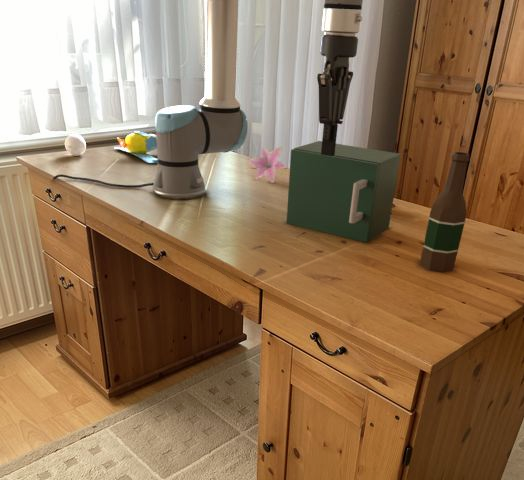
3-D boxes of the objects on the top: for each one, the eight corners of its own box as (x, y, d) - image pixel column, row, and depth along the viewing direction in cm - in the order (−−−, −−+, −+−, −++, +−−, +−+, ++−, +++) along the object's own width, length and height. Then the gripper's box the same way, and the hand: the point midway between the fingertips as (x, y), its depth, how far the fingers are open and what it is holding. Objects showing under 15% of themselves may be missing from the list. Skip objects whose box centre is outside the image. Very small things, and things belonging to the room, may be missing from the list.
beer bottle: (413, 259, 123) (435, 148, 110) (446, 259, 124) (472, 149, 111) (425, 272, 116) (449, 157, 104) (460, 273, 117) (488, 158, 105)
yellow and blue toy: (103, 125, 202) (139, 123, 210) (105, 150, 206) (141, 147, 215) (137, 138, 183) (176, 136, 192) (139, 165, 188) (177, 161, 196)
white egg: (63, 154, 198) (59, 133, 194) (83, 152, 202) (80, 131, 198) (72, 160, 191) (69, 138, 187) (93, 158, 195) (90, 136, 191)
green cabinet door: (357, 248, 127) (368, 168, 117) (275, 228, 137) (279, 153, 128) (368, 241, 131) (379, 163, 122) (288, 222, 142) (293, 149, 132)
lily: (245, 177, 184) (242, 155, 175) (271, 160, 187) (269, 137, 178) (267, 196, 179) (265, 174, 170) (294, 178, 182) (293, 155, 173)
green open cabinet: (368, 241, 132) (379, 162, 122) (288, 222, 142) (293, 148, 132) (388, 228, 141) (400, 153, 131) (312, 210, 151) (318, 140, 142)
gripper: (343, 35, 104) (329, 162, 116) (369, 35, 113) (354, 152, 126) (308, 33, 107) (299, 157, 119) (337, 33, 116) (325, 147, 129)
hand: (327, 154), depth 123 cm, fingers closed
